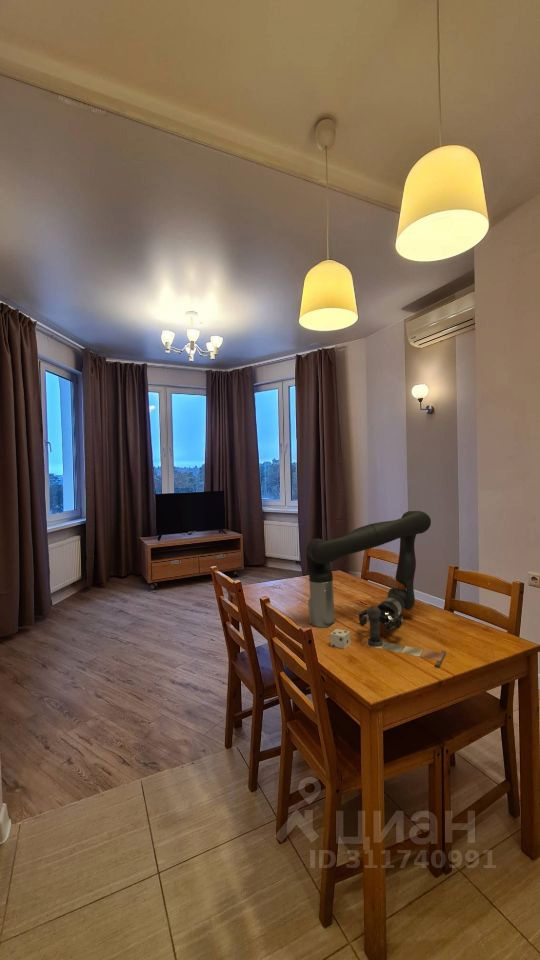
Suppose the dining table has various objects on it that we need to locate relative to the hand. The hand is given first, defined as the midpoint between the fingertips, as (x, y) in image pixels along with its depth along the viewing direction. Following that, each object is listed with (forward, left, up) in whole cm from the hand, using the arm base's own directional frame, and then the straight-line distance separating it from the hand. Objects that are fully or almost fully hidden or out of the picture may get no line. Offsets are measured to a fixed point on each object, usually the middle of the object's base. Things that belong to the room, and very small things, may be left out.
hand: (373, 625), depth 129 cm
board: (+9, +1, -7) cm, 12 cm away
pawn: (0, +1, -6) cm, 6 cm away
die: (-10, -5, -7) cm, 14 cm away
